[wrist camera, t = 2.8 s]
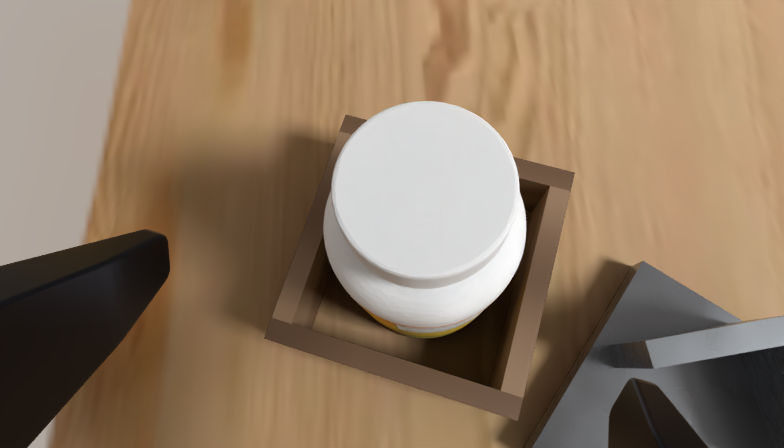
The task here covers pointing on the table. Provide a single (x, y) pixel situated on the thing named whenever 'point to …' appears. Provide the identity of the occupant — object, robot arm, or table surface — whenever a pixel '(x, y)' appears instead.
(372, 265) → the supplement bottle
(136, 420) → the table surface
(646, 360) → the v-block
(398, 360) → the block
